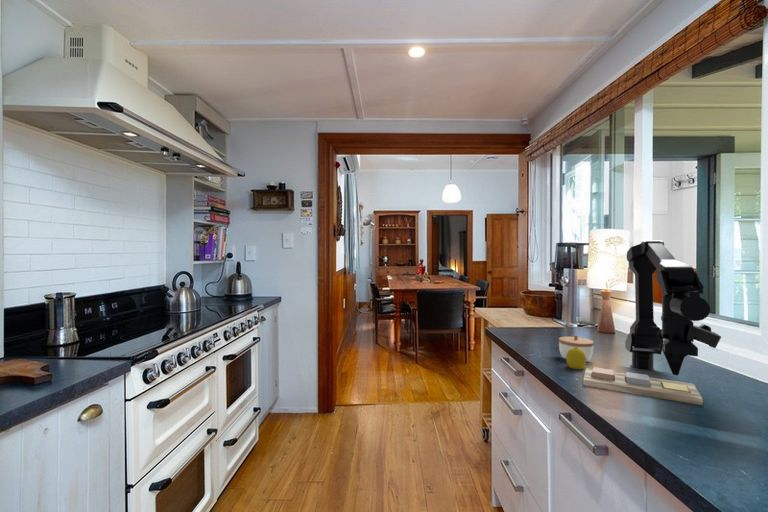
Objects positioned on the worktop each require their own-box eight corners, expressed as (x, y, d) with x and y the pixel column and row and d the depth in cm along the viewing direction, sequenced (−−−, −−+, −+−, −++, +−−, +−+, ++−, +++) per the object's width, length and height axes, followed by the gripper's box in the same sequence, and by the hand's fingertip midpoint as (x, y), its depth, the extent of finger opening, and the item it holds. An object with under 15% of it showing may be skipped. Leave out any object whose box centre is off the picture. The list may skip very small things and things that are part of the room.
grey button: (626, 382, 102) (626, 371, 102) (648, 386, 100) (648, 375, 100) (626, 388, 98) (626, 376, 98) (649, 391, 95) (649, 380, 95)
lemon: (588, 375, 113) (588, 349, 113) (569, 374, 114) (569, 348, 114) (582, 370, 118) (582, 345, 118) (564, 368, 119) (564, 344, 119)
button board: (585, 377, 110) (586, 367, 110) (693, 395, 97) (693, 383, 97) (583, 390, 100) (583, 379, 100) (702, 411, 87) (702, 398, 87)
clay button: (593, 377, 106) (593, 367, 106) (613, 380, 104) (613, 370, 104) (592, 382, 102) (592, 371, 102) (613, 385, 100) (613, 374, 100)
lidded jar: (570, 356, 134) (570, 330, 134) (600, 364, 125) (600, 336, 125) (551, 360, 129) (552, 333, 128) (581, 368, 119) (581, 340, 119)
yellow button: (661, 392, 98) (661, 381, 98) (685, 396, 95) (685, 385, 95) (664, 399, 94) (664, 387, 94) (689, 403, 91) (689, 391, 91)
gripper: (727, 323, 82) (726, 392, 82) (709, 312, 98) (708, 370, 98) (665, 318, 88) (664, 383, 88) (657, 308, 104) (656, 363, 104)
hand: (675, 374), depth 94 cm, fingers closed
